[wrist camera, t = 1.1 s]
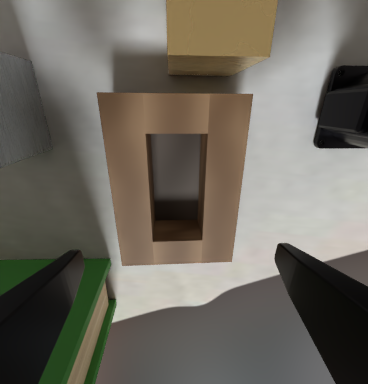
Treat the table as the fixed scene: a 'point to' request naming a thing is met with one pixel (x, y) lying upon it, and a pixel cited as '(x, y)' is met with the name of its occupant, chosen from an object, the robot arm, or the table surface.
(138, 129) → the socket block
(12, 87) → the block
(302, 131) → the table surface
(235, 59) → the square bit
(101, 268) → the hardback book
